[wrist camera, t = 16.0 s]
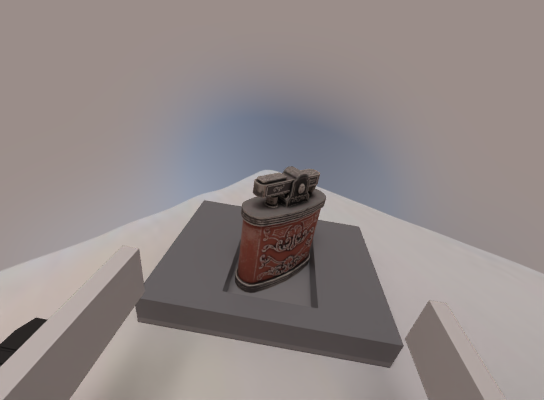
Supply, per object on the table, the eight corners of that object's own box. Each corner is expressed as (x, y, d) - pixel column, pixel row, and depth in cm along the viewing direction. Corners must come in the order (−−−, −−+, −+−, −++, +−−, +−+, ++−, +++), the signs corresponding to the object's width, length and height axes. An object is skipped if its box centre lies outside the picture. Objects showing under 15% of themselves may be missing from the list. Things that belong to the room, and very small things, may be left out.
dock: (352, 244, 30) (359, 226, 29) (389, 367, 18) (403, 345, 16) (203, 218, 30) (204, 200, 29) (138, 321, 18) (133, 297, 17)
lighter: (293, 245, 27) (312, 157, 23) (315, 265, 25) (343, 171, 20) (227, 274, 22) (235, 169, 18) (248, 301, 20) (263, 189, 16)
